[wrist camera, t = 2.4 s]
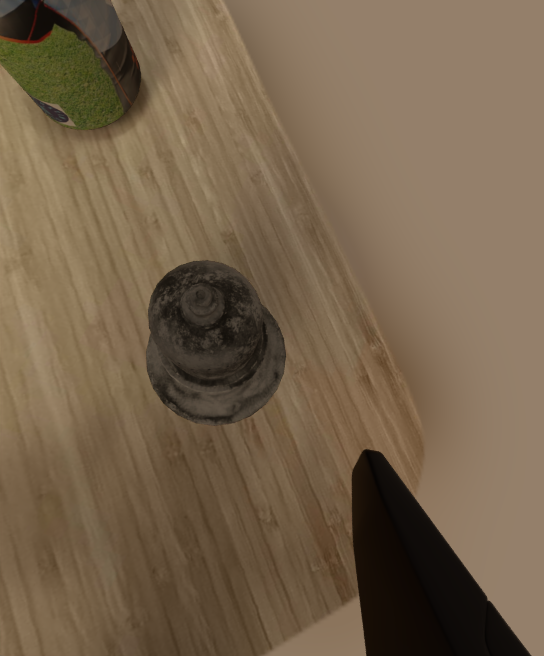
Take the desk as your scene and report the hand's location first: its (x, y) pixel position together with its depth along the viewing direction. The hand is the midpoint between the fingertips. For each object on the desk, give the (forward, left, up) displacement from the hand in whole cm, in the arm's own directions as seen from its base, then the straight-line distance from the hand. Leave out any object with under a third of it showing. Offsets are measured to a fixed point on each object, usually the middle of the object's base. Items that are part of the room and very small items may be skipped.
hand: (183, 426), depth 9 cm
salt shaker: (+3, -1, -10) cm, 10 cm away
